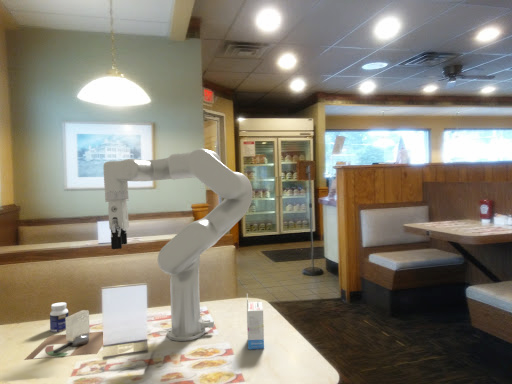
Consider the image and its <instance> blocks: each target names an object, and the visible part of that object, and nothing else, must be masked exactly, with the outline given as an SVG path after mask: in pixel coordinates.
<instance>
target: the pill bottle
mask: <svg viewBox="0 0 512 384" xmlns="http://www.w3.org/2000/svg"><path fill="white" fill-rule="evenodd" d="M50 309H51V311H50V313H49V328H50V329H49V330H50V331H49V332H51V333H60V332H64V331H65V332H66V320H65V318H66V317H68V316H69V310H68V308H67V302H65V301H64V302H62V301H61V302H56V303H52V304H51V308H50Z"/></svg>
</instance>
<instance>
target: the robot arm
mask: <svg viewBox="0 0 512 384" xmlns="http://www.w3.org/2000/svg"><path fill="white" fill-rule="evenodd" d="M102 169H103V180H104V181H103V183H104V199H105V200H104V201H105V203H108V208H107V209H108V226H109V231H110V244H111V245H110V247H111V250H121V249H122V247H123V246H124V245H127V244H128V233H127V229H128V228H129V227H130V221H129V212H128V211H129V210H128V204H127V201H129V200H130V199H129V184H128V182H151V181H152V182H153V181H154V182H155V181H163V180H174V181H175V180H184V179H185V180H186V179H193V178H194V179H195V178H197V179H198V180H199V181H200V182H201V183H203V184H204V185H205V186H206V187H207V188H208V189H210V190H211V191H212V192H214V193H215V194H216V195H217V196H219V197H221V198H222V199H223V200H222V201H221V202H220V203H218V204H217V205H216V206H215V207H214V208H213V209H212V210H211V211H210V212H209V213H208V214H206V216H203V218H199V219H198V220H195V221H192V222H190V223H188V224H187V225H185V226H184V228H182V229H181V230H180V231H179V232H178V233H177V234H175V236H173V237H172V238H171V239H170V240H168V241H167V243H166V244H165V245H164V246H163V247H161V249H160V250H159V253H158V254H157V265H158V267H159V269H160V270H161V271H162V272H163V273H165V274H167V275H170V279H169V284H170V285H169V286H170V287H169V288H170V290H169V291H170V294H169V295H170V318H171V327H170V328H168V330H167V332H166V336H167V338H168V339H170V340H172V341H176V342H185V341H187V342H188V341H191V340H192V341H193V340H196V339H198V338H201V337H202V336H203V335H205V333H206V328H207V329H208V328H209V329H210V328H215V321H212V320H211V319H205V320H204V319H202V315H201V304H200V303H201V301H200V298H201V297H200V263H201V255H202V254H203V253H204V252H206V251H207V250H208V249H210V248H212V247H213V246H214V245H216V244H217V243H218V242H219V240H220V239H221V238H222V237H224V235H225V234H226V233H228V232H229V231H230V230H231V229H232V228H233V227H234V226H235V225H236V224H237V223H238V222H239V221H241V220H242V218H243V217H244V216H245V215H246V213H248V210H249V209H250V207H251V204H252V202H253V196H254V195H253V192H254V191H253V188H252V183H251V181H250V179H249V178H248V176H247V175H245V174H243V173H241V172H238V171H233V170H232V169H230V168H229V167H227V166H226V165H225V164H223V163H222V160H221V157H220V155H219V153H217V152H215V151H213V150H210V149H206V148H196V149H194V150H192V151H190V152H181V153H180V152H177V153H172V154H170V155H169V156H168V157H165V158H159V159H148V160H147V159H146V160H145V159H138V158H126V159H123V160H110V161H105V162H104V163H103V167H102ZM122 245H123V246H122Z"/></svg>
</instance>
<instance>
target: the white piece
mask: <svg viewBox="0 0 512 384" xmlns="http://www.w3.org/2000/svg"><path fill="white" fill-rule="evenodd" d="M65 320H66V330H65V334H66V340H67V341H68V343H67V344H65V345H64V346H62V347H60V348H58V349H56V350H54V351H53V353H58V352H60V351H61V350H63V349H65V348H67V347H69V346H70V347H77V346H81V345H84V344H86V343H88V342H89V334H88V333H90V331H91V330H90V311H89V310H88V309H87V310H86V309H82V310H79V311H78V312H75V313H73V314H71V315H68V317H66V318H65Z"/></svg>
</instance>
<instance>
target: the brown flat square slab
mask: <svg viewBox="0 0 512 384" xmlns="http://www.w3.org/2000/svg"><path fill="white" fill-rule="evenodd" d="M88 334H89V342H88V343H86V344H84V345H81V346H77V347H70V346H69V347H67V348H65V349H63V350H61V351H60V352H58V353H53V351H54V350H56V349H58V348H60V347H62V346H64V345H65V344H67V343H68V341H67V340H66V333H65V334H55V335H54V334H53V335H49V336H48V337H47V338H46V339H44V340H43V342H41V343H40V344H39V345H38V346H37V347H36V348H35V349H34V350H33V351H32V352H30V354H28V355H27V356H26V357H25V358H24V359H23V360H24V361H26V360H28V361H29V360H38V359H51V358H65V357H72V356H86V355H97V354H98V353H99V351H100V350H101V349H102V347H103V345H104V344H103V331H93V332H92V331H91V332H89V333H88Z"/></svg>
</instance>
